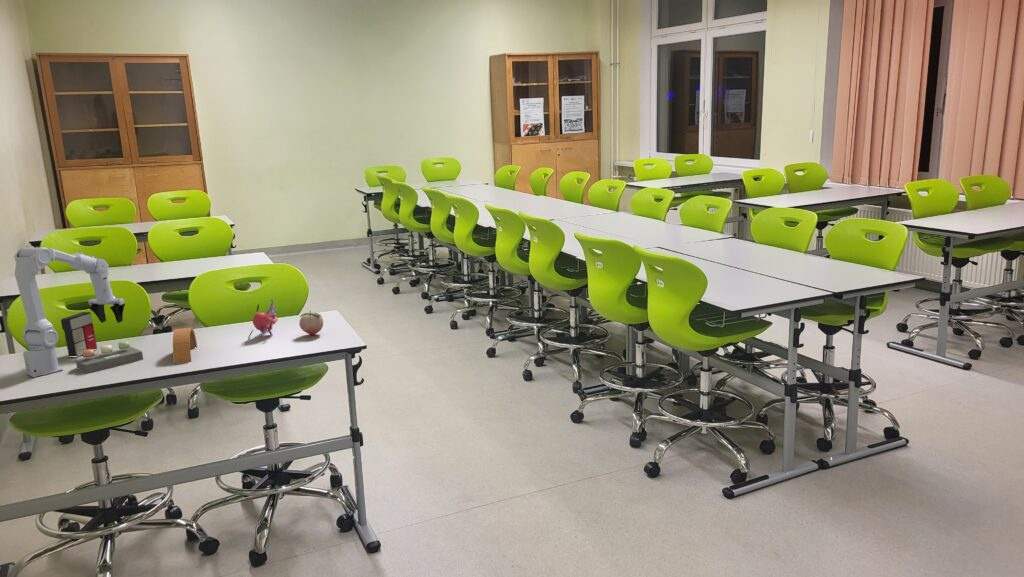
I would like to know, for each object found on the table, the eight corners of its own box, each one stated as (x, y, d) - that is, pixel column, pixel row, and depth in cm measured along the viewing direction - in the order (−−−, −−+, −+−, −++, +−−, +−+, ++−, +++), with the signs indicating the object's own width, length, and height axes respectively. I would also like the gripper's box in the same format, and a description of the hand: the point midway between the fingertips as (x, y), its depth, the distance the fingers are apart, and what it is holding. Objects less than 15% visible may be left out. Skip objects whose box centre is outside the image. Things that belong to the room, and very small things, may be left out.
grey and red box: (77, 358, 275) (70, 319, 272) (67, 357, 276) (60, 319, 273) (98, 349, 286) (92, 311, 283) (89, 349, 287) (82, 311, 284)
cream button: (103, 353, 264) (102, 348, 263) (99, 352, 266) (99, 346, 266) (114, 351, 266) (113, 346, 266) (110, 349, 269) (109, 344, 268)
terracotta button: (85, 358, 259) (84, 352, 259) (81, 356, 262) (80, 351, 261) (96, 355, 262) (95, 350, 261) (92, 353, 264) (91, 348, 264)
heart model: (244, 344, 286) (255, 322, 304) (270, 348, 288) (279, 326, 306) (249, 305, 280) (260, 285, 298) (276, 309, 282) (284, 289, 300)
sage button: (121, 349, 268) (120, 344, 267) (117, 348, 270) (116, 342, 270) (131, 347, 270) (130, 342, 270) (127, 345, 273) (126, 340, 272)
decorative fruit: (328, 331, 294) (325, 307, 292) (320, 337, 286) (318, 312, 284) (305, 332, 295) (303, 308, 293) (297, 338, 287) (294, 313, 285)
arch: (173, 364, 262) (169, 337, 260) (181, 349, 281) (177, 323, 279) (191, 362, 264) (187, 335, 261) (198, 347, 282) (194, 322, 280)
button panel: (86, 373, 256) (84, 364, 255) (77, 368, 263) (75, 359, 262) (143, 359, 269) (141, 350, 269) (132, 354, 276) (131, 346, 275)
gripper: (125, 285, 283) (134, 317, 288) (94, 285, 287) (103, 317, 291) (112, 291, 277) (122, 324, 281) (80, 291, 280) (90, 324, 285)
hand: (111, 321), depth 286 cm, fingers open, 7 cm apart
